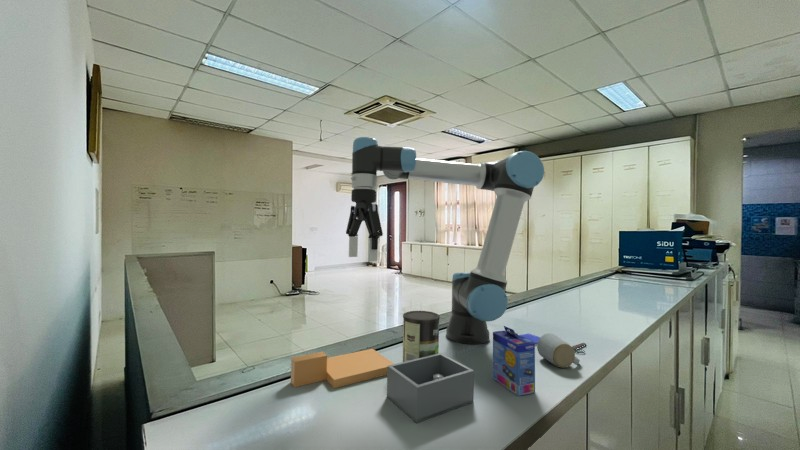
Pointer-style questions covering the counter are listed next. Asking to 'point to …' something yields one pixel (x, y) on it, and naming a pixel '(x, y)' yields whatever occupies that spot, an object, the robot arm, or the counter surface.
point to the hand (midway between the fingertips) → (362, 258)
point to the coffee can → (420, 334)
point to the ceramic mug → (556, 351)
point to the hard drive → (531, 337)
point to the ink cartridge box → (514, 361)
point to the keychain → (578, 347)
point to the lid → (338, 368)
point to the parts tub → (429, 386)
